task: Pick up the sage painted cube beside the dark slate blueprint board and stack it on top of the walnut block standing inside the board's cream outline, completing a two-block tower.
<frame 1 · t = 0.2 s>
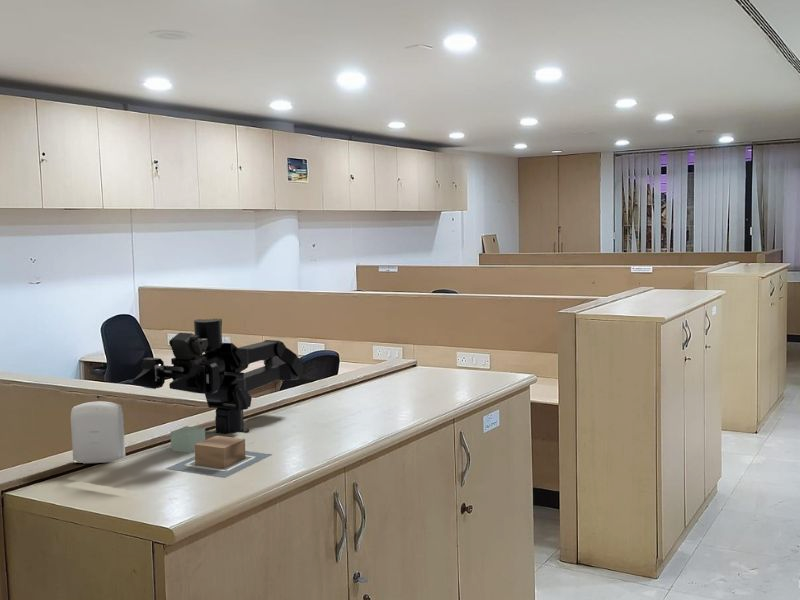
hand: (151, 384, 154), 16 cm above the table, tool horizontal, fingers open, 9 cm apart
walnut block: (220, 461, 155), point 1 cm above the table, touching blueprint board
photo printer: (99, 462, 158), on the table
sage cube: (188, 453, 164), on the table
blueprint board: (220, 466, 155), on the table
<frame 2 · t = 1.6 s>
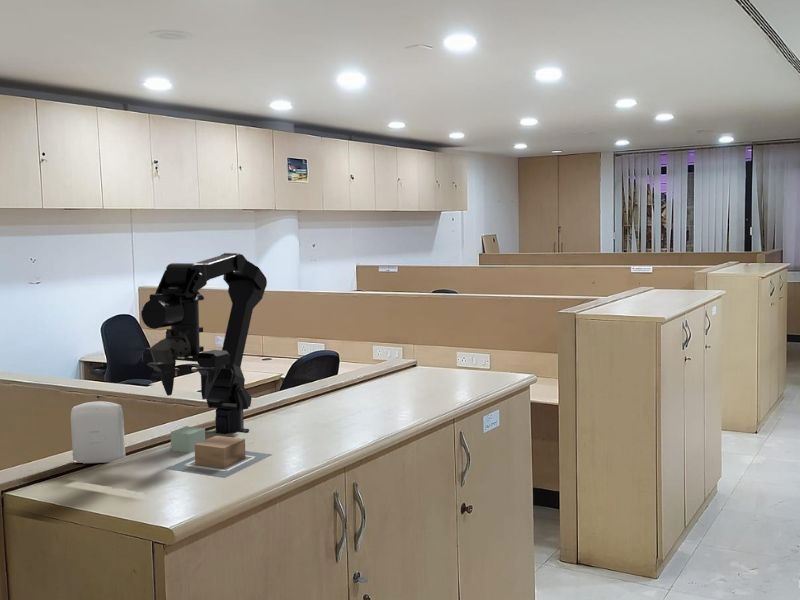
hand: (186, 397, 163), 12 cm above the table, tool pointing down, fingers open, 9 cm apart
nothing on the table moved.
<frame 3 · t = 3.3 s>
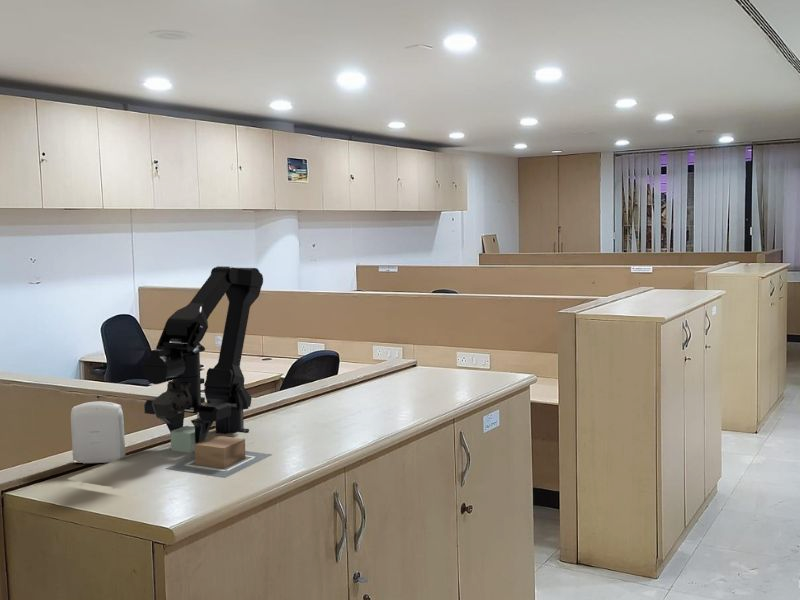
hand: (188, 448, 164), 1 cm above the table, tool pointing down, fingers closed on sage cube, 5 cm apart
sage cube: (188, 452, 164), on the table, touching gripper
everything else where it was.
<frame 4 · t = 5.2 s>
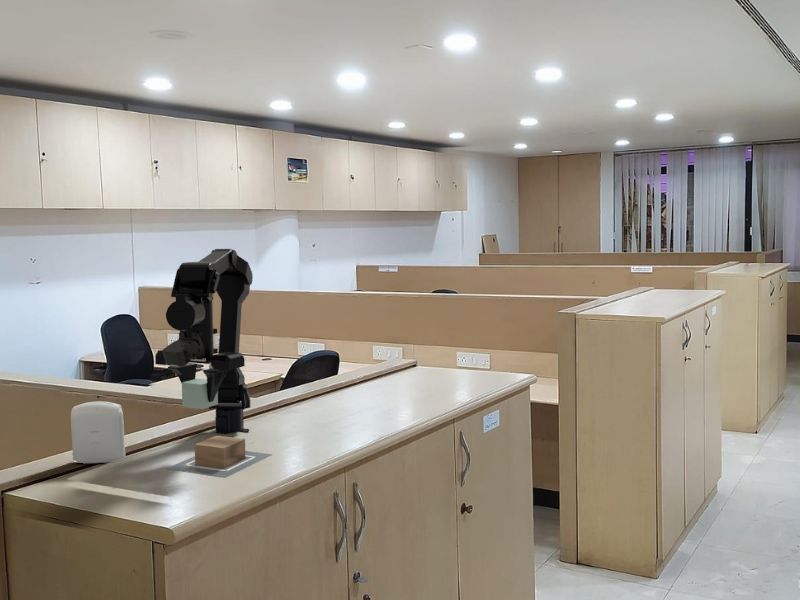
hand: (200, 400, 158), 12 cm above the table, tool pointing down, fingers closed on sage cube, 5 cm apart
sage cube: (200, 405, 158), point 11 cm above the table, touching gripper
everything else where it was.
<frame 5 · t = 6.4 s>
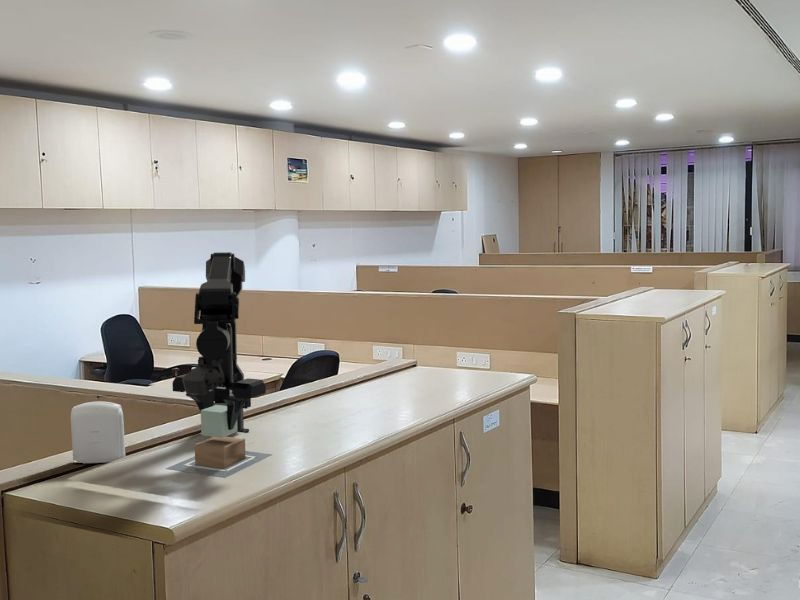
hand: (219, 428, 154), 8 cm above the table, tool pointing down, fingers closed on sage cube, 5 cm apart
sage cube: (219, 433, 154), point 7 cm above the table, touching gripper
everything else where it was.
when the fingers open (7 cm above the table, at t = 7.2 s): sage cube drops 1 cm, resting on walnut block.
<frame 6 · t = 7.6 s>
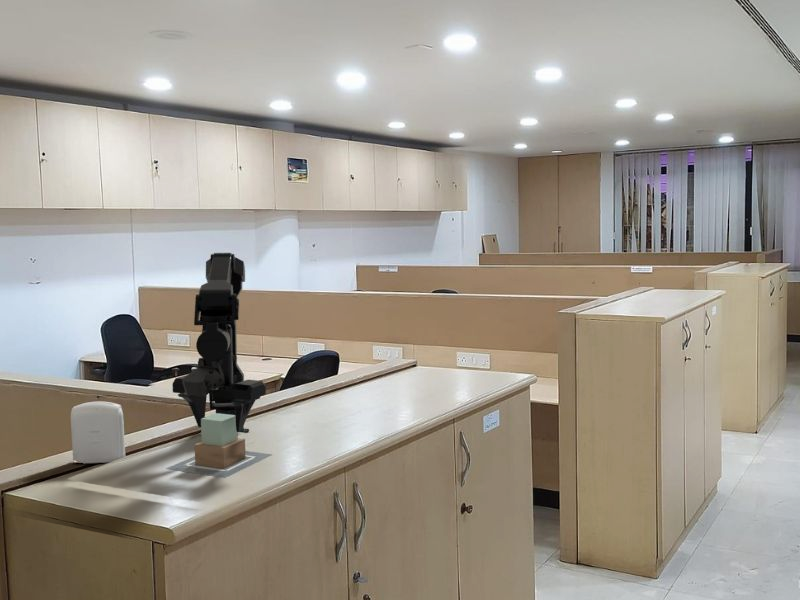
hand: (219, 429, 154), 7 cm above the table, tool pointing down, fingers open, 9 cm apart
walnut block: (220, 461, 155), point 1 cm above the table, touching blueprint board, sage cube
sage cube: (219, 441, 154), point 5 cm above the table, touching walnut block
everything else where it was.
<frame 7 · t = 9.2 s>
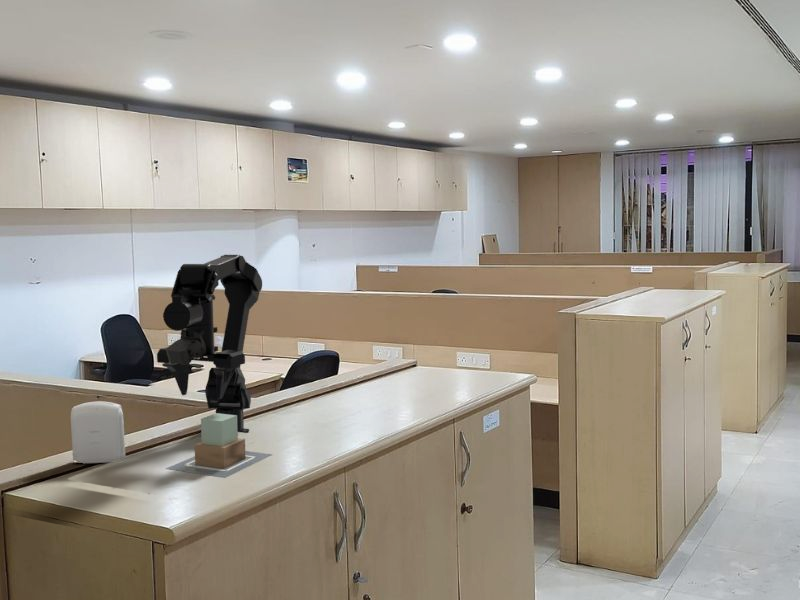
hand: (201, 396, 164), 12 cm above the table, tool pointing down, fingers open, 9 cm apart
nothing on the table moved.
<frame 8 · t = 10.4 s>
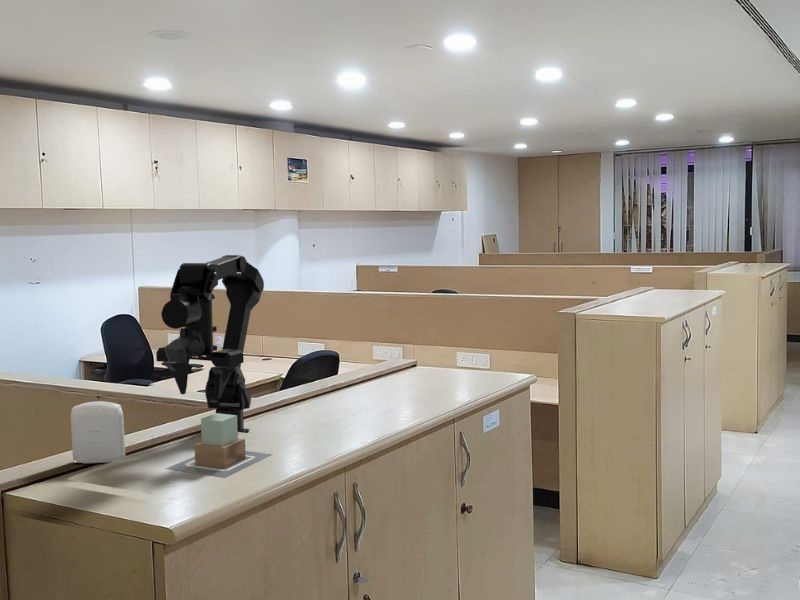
hand: (200, 395, 164), 12 cm above the table, tool pointing down, fingers open, 9 cm apart
nothing on the table moved.
at the end: sage cube 0.0 cm off-centre on the walnut block, point 4.0 cm above the walnut block's base; sage cube tilted 0°; the gripper is holding nothing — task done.
